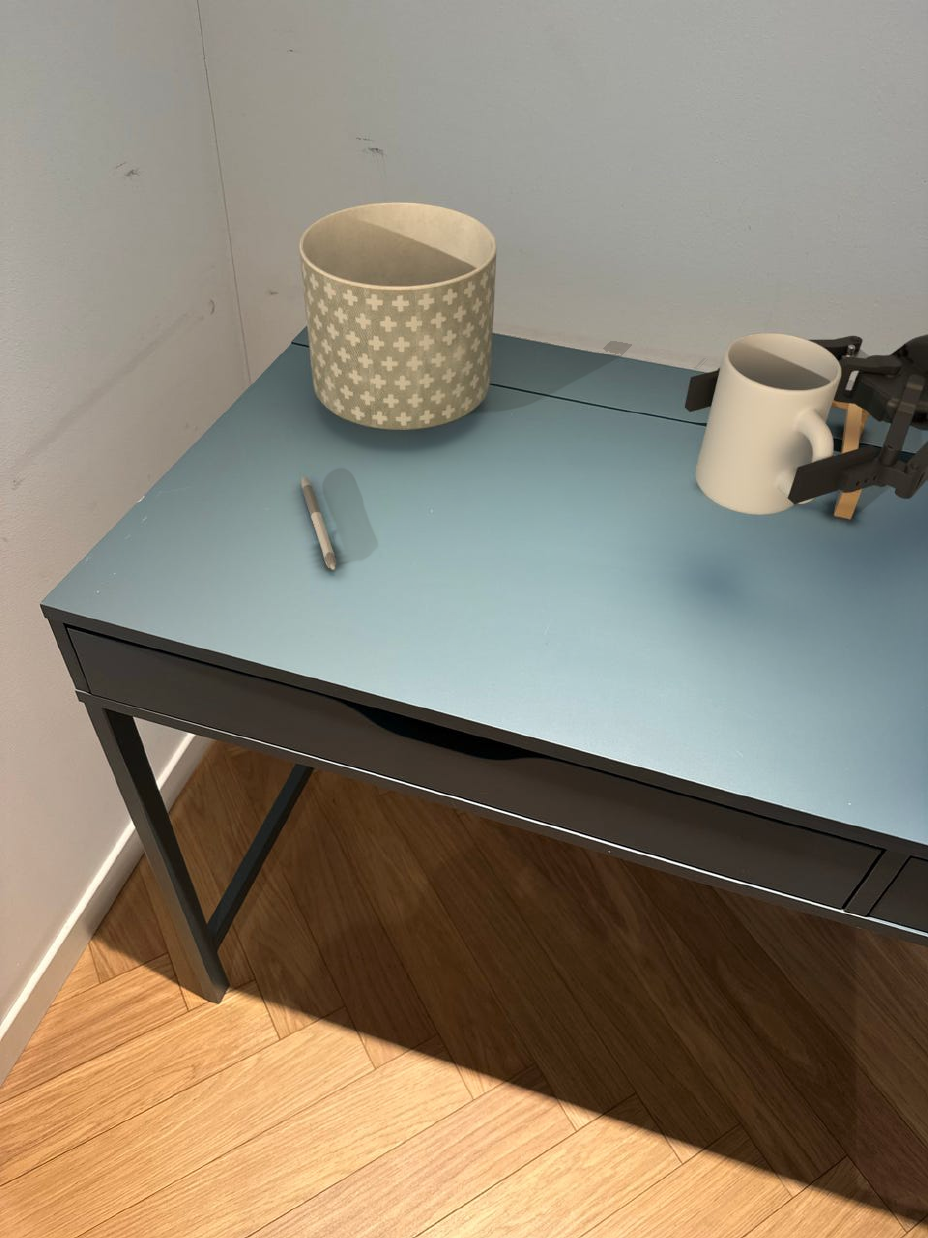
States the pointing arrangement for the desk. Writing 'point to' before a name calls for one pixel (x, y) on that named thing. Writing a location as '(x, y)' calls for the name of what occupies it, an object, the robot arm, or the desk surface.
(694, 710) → the desk surface
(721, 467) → the mug
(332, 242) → the planter
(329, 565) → the pen
